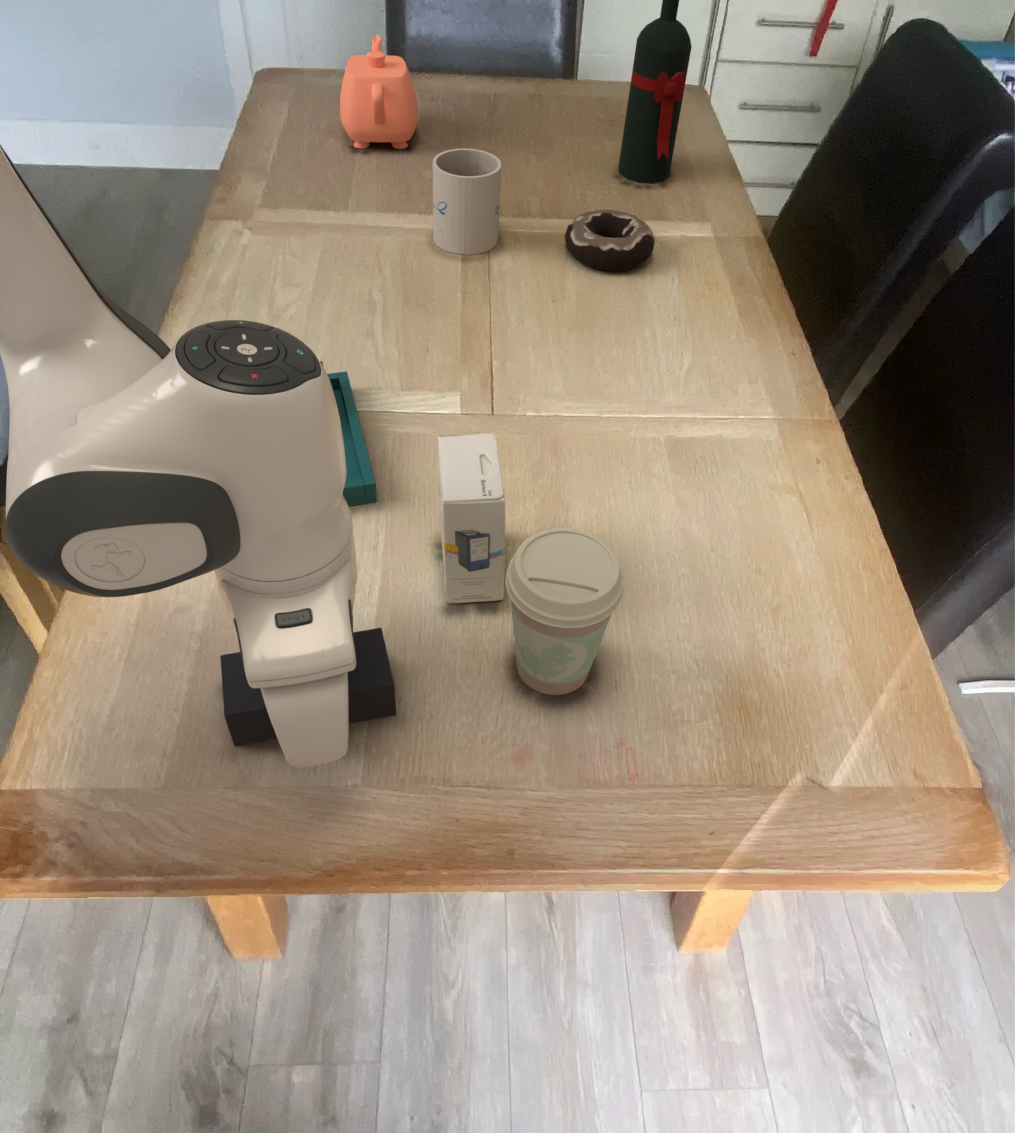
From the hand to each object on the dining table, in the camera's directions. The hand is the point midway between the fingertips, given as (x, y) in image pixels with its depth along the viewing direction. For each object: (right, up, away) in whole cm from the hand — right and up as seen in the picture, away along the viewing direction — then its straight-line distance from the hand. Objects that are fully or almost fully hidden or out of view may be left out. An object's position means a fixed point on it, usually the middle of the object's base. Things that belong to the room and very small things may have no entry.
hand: (309, 687), depth 68 cm
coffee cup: (+18, +1, +5) cm, 19 cm away
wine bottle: (+36, +68, +69) cm, 103 cm away
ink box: (+11, +9, +12) cm, 19 cm away
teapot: (-5, +77, +74) cm, 107 cm away
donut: (+28, +50, +52) cm, 77 cm away
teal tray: (-8, +20, +21) cm, 30 cm away
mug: (+9, +54, +54) cm, 77 cm away
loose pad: (0, -1, +1) cm, 2 cm away
